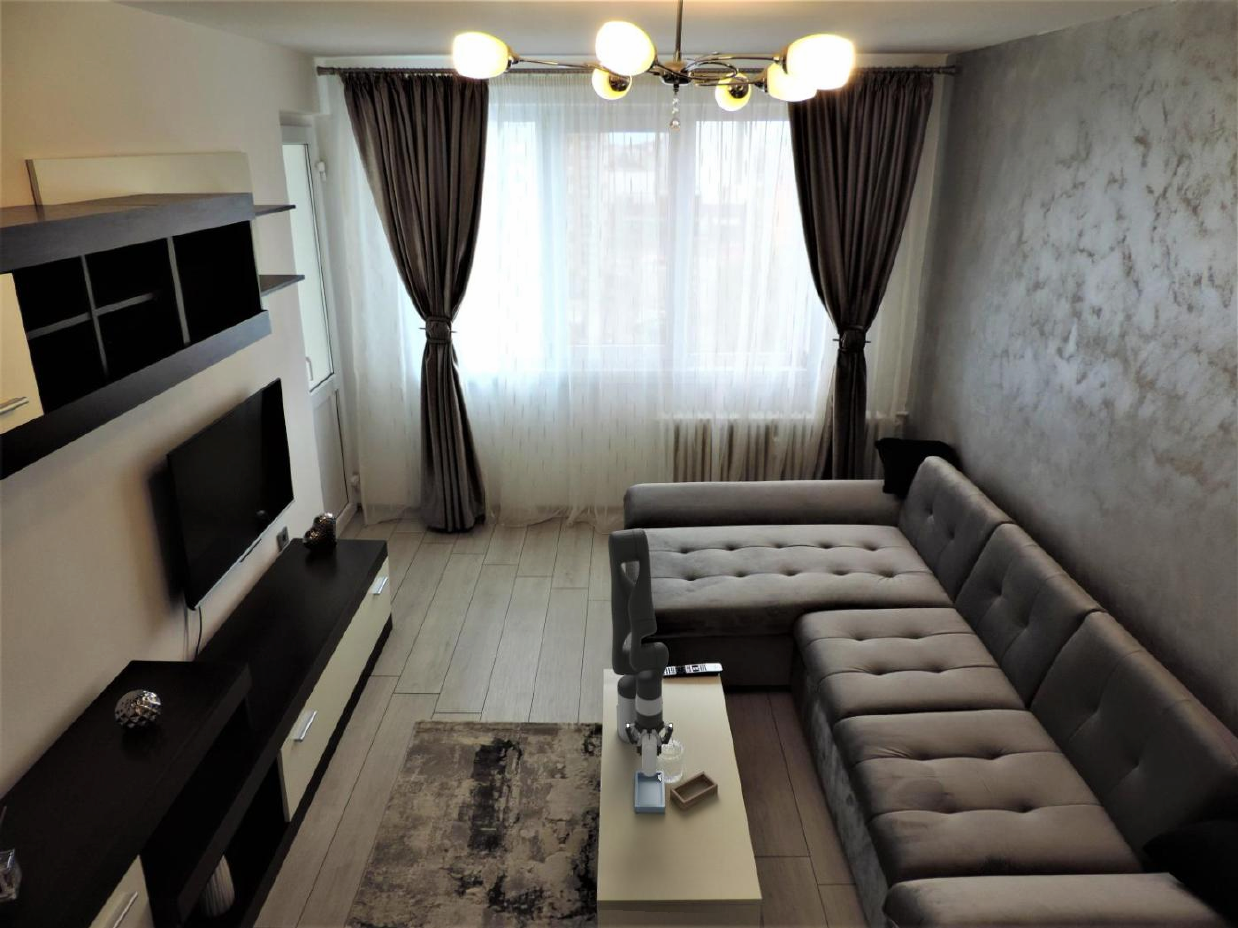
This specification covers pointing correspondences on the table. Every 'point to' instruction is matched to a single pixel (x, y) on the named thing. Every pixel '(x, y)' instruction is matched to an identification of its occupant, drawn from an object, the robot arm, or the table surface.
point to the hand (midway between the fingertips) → (649, 753)
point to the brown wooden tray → (698, 797)
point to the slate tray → (649, 793)
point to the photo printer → (649, 754)
